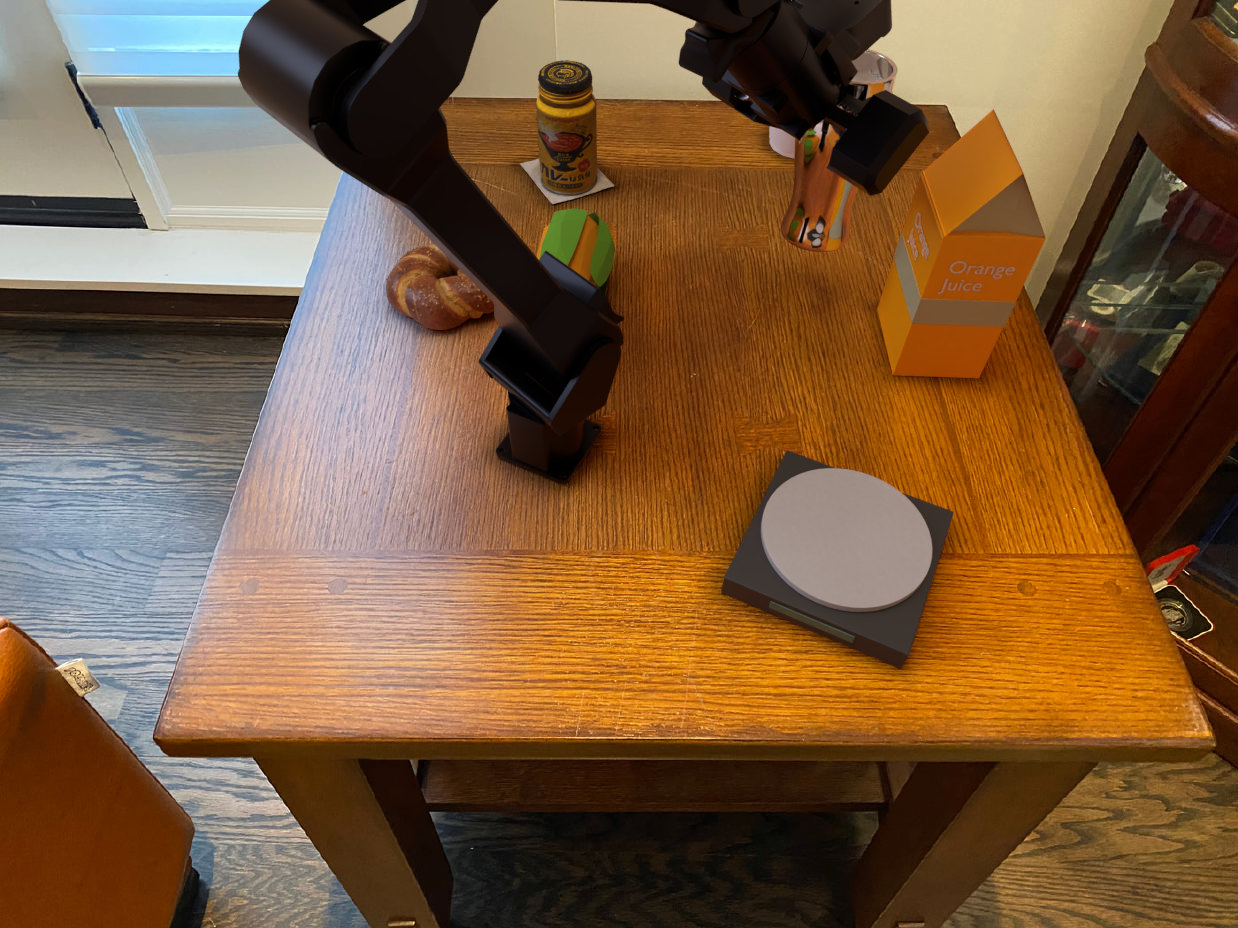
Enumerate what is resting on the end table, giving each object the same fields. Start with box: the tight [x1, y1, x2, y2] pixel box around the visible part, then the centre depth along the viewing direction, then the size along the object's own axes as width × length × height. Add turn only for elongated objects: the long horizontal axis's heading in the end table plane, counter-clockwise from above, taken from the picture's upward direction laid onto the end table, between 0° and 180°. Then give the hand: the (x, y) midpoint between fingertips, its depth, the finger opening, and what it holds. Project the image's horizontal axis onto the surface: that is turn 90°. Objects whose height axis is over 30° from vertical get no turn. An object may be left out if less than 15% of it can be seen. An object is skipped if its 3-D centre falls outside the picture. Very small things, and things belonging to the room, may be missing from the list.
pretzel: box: [385, 242, 494, 331], centre depth 80 cm, size 12×11×4 cm
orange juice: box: [876, 108, 1047, 379], centre depth 70 cm, size 8×9×20 cm
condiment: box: [519, 59, 615, 205], centre depth 89 cm, size 7×8×12 cm
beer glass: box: [780, 48, 899, 253], centre depth 72 cm, size 7×7×15 cm
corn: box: [535, 207, 616, 295], centre depth 77 cm, size 7×8×20 cm
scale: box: [720, 450, 954, 669], centre depth 62 cm, size 13×13×3 cm
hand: (843, 150), depth 72 cm, fingers closed on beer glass, 7 cm apart
